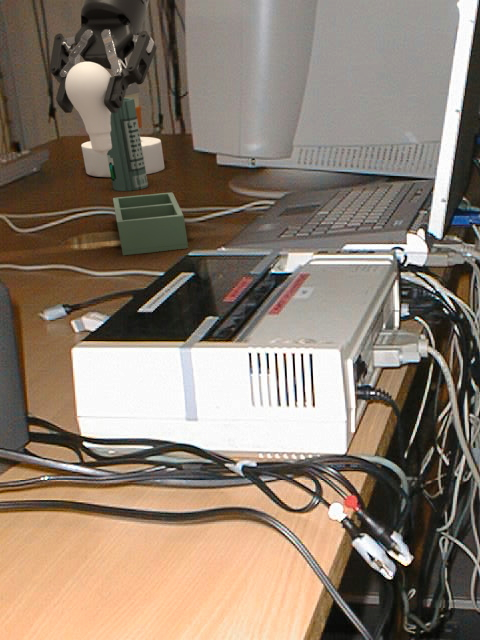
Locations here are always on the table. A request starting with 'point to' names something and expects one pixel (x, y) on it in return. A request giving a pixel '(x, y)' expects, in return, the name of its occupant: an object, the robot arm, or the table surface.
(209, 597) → the table surface
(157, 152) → the tape roll
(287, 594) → the table surface
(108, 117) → the lightbulb
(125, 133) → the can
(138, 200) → the rack
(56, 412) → the table surface
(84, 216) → the table surface
